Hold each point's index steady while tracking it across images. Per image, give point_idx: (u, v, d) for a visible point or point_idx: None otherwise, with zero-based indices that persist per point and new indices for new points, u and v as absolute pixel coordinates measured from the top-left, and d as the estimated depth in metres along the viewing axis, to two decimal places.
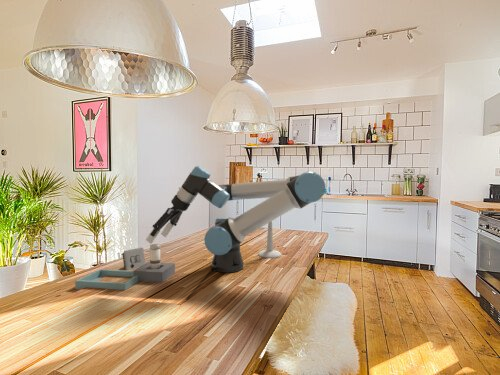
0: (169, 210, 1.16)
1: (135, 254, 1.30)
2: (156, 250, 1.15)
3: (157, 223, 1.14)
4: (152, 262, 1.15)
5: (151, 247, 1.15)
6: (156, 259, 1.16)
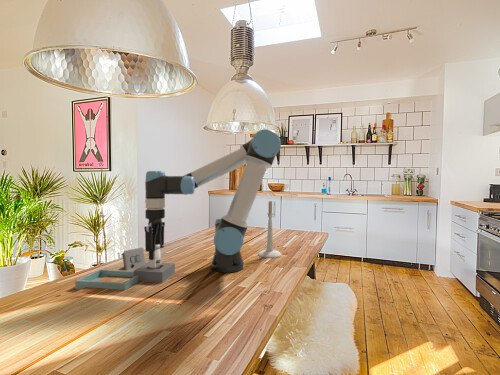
0: (146, 229, 1.10)
1: (135, 254, 1.30)
2: (155, 250, 1.15)
3: (147, 246, 1.11)
4: None
5: None
6: (156, 259, 1.16)
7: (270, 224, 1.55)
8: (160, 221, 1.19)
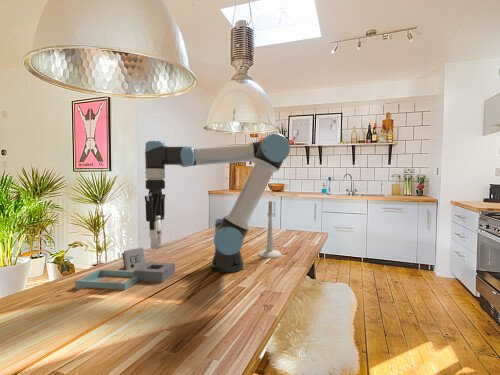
0: (147, 198, 1.10)
1: (135, 254, 1.30)
2: (156, 220, 1.15)
3: (147, 215, 1.11)
4: None
5: None
6: None
7: (270, 224, 1.55)
8: (160, 192, 1.19)
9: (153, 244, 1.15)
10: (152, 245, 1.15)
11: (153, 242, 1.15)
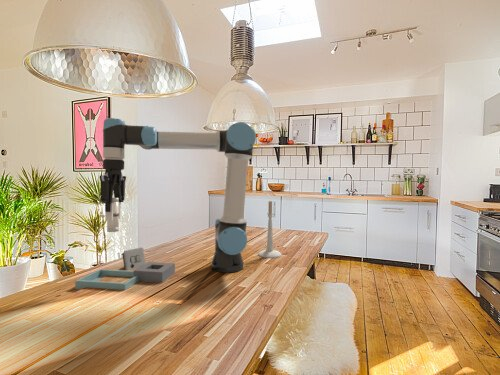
0: (102, 177, 1.04)
1: (135, 254, 1.30)
2: (113, 202, 1.09)
3: (102, 196, 1.05)
4: None
5: None
6: (113, 212, 1.09)
7: (270, 224, 1.55)
8: (120, 174, 1.13)
9: (109, 227, 1.09)
10: (108, 228, 1.09)
11: (109, 225, 1.09)
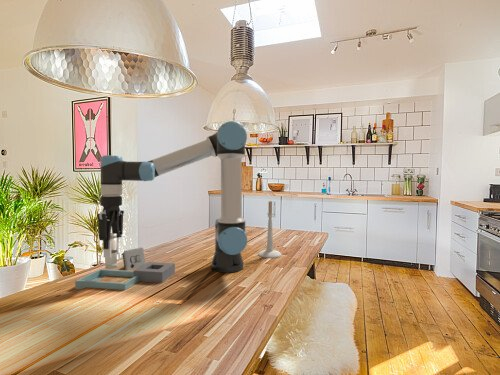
0: (99, 216, 1.04)
1: (135, 254, 1.30)
2: (111, 239, 1.09)
3: (100, 234, 1.05)
4: None
5: None
6: (111, 249, 1.09)
7: (270, 224, 1.55)
8: (117, 209, 1.13)
9: (107, 264, 1.09)
10: (106, 265, 1.09)
11: (107, 262, 1.09)
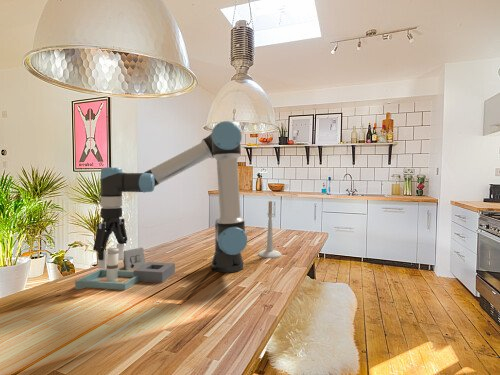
0: (99, 225, 1.04)
1: (135, 254, 1.30)
2: (113, 254, 1.09)
3: (95, 244, 1.03)
4: (108, 267, 1.09)
5: (108, 251, 1.09)
6: (113, 264, 1.10)
7: (270, 224, 1.55)
8: (117, 221, 1.13)
9: (108, 279, 1.09)
10: (107, 280, 1.10)
11: (108, 277, 1.09)
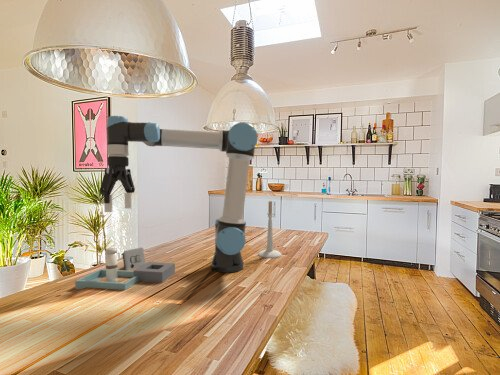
0: (107, 169, 1.06)
1: (135, 254, 1.30)
2: (111, 254, 1.09)
3: (102, 186, 1.03)
4: (108, 267, 1.09)
5: (106, 251, 1.09)
6: (112, 264, 1.10)
7: (270, 224, 1.55)
8: (124, 171, 1.15)
9: (108, 279, 1.09)
10: (107, 280, 1.10)
11: (108, 277, 1.09)
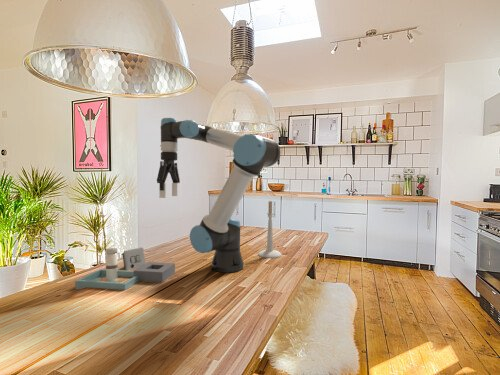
0: (162, 162, 1.28)
1: (135, 254, 1.30)
2: (112, 254, 1.09)
3: (159, 176, 1.25)
4: (108, 267, 1.09)
5: (107, 251, 1.09)
6: (112, 264, 1.10)
7: (270, 224, 1.55)
8: None
9: (108, 279, 1.09)
10: (107, 280, 1.10)
11: (108, 277, 1.09)
